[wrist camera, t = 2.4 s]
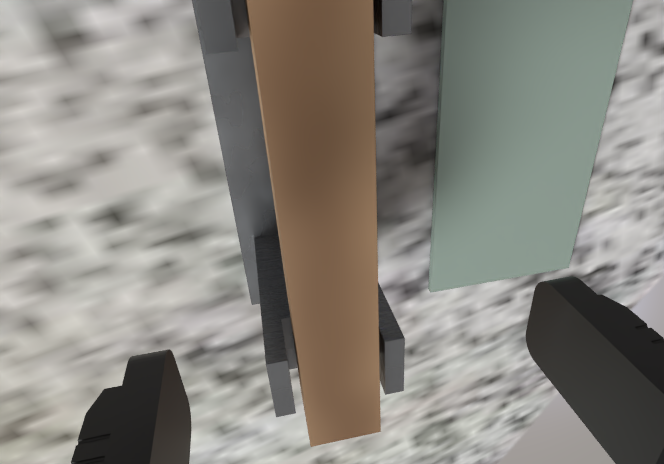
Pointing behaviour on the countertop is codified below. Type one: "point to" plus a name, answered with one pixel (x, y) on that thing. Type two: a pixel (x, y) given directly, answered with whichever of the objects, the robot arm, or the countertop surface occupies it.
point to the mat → (518, 132)
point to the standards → (256, 190)
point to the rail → (324, 199)
